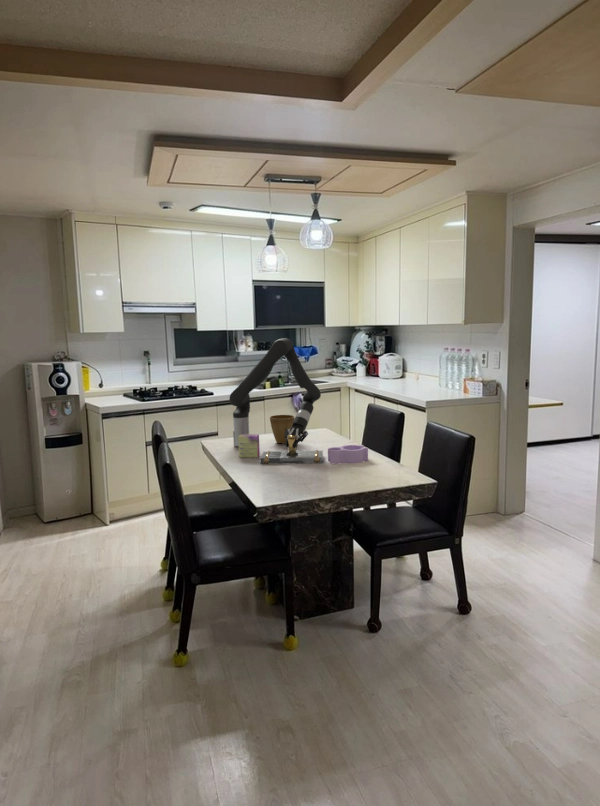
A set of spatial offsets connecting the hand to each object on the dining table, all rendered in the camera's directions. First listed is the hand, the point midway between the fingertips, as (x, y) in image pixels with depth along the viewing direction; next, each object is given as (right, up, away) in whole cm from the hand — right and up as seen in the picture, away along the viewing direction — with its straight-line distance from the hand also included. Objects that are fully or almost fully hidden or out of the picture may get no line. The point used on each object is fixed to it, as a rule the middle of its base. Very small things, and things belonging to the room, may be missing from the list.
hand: (290, 446), depth 270 cm
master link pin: (+1, -4, +2) cm, 5 cm away
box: (-22, -6, +13) cm, 27 cm away
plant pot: (-5, -1, +43) cm, 43 cm away
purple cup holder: (+30, -7, -1) cm, 31 cm away
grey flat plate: (+1, -7, +3) cm, 8 cm away
